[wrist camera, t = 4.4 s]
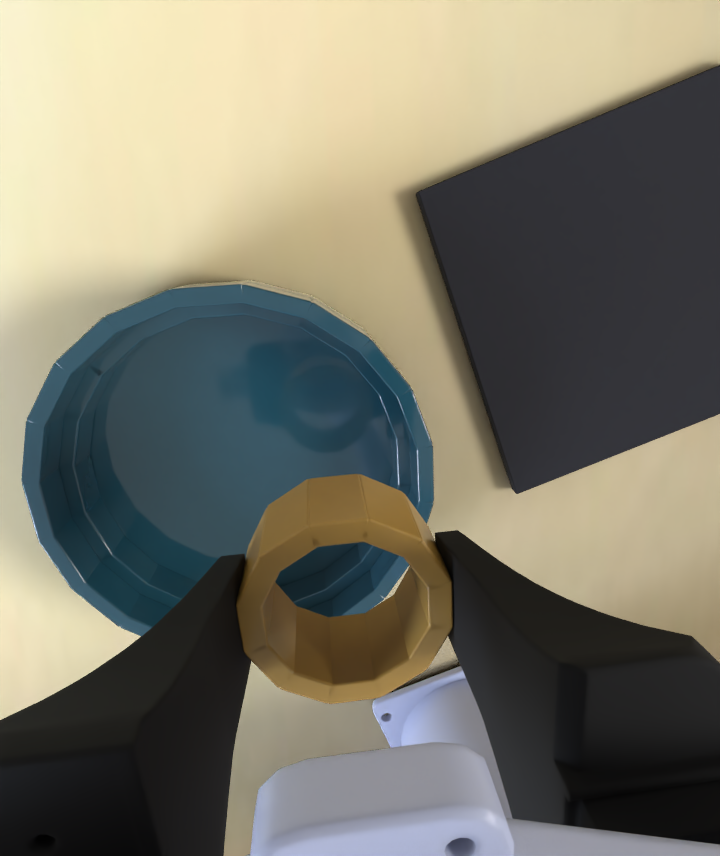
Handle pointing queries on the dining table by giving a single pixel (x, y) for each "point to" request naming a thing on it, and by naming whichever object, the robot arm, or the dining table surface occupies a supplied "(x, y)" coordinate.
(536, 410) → the coaster
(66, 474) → the bowl
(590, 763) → the robot arm
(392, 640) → the napkin ring
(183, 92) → the dining table surface
